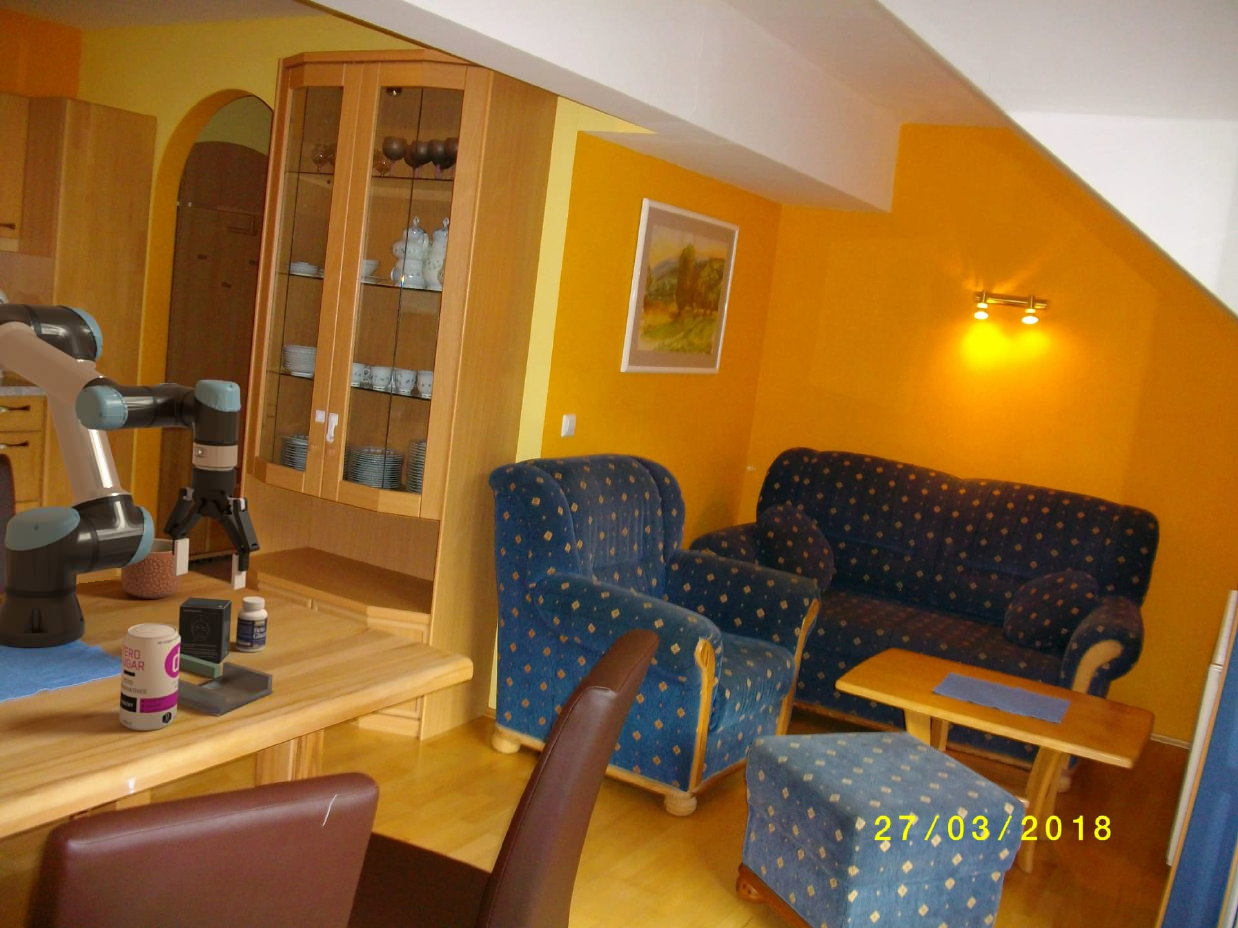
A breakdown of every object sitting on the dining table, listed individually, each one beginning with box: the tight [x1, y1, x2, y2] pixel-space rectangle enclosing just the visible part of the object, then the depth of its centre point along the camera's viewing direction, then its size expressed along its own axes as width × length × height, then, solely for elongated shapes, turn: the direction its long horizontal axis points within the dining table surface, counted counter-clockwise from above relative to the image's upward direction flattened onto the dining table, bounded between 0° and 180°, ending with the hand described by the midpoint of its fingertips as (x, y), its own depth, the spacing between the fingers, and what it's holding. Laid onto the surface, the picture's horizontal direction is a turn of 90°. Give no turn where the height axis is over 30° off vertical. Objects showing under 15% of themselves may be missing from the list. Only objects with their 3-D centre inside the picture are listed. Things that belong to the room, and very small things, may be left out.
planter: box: [120, 538, 183, 600], centre depth 224 cm, size 12×12×11 cm
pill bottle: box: [235, 596, 268, 653], centre depth 199 cm, size 5×5×10 cm
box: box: [178, 597, 233, 664], centre depth 192 cm, size 8×6×11 cm
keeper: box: [177, 661, 274, 717], centre depth 176 cm, size 10×13×3 cm
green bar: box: [179, 653, 222, 679], centre depth 187 cm, size 14×2×2 cm, turn 68°
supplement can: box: [118, 622, 181, 732], centre depth 163 cm, size 8×8×15 cm
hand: (208, 581), depth 191 cm, fingers open, 13 cm apart
